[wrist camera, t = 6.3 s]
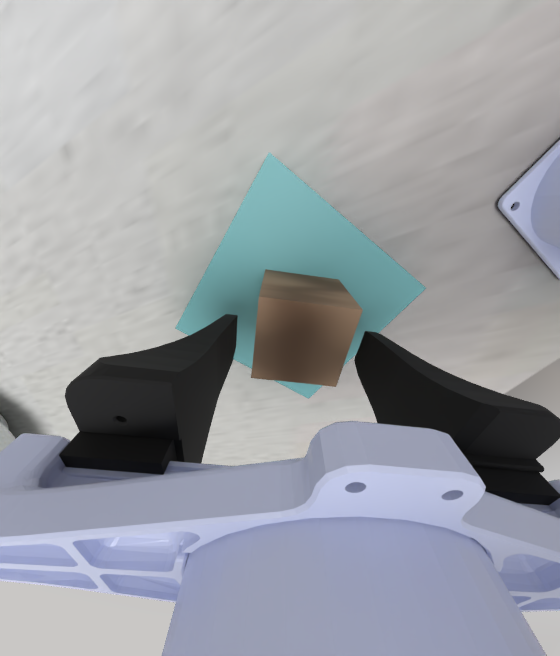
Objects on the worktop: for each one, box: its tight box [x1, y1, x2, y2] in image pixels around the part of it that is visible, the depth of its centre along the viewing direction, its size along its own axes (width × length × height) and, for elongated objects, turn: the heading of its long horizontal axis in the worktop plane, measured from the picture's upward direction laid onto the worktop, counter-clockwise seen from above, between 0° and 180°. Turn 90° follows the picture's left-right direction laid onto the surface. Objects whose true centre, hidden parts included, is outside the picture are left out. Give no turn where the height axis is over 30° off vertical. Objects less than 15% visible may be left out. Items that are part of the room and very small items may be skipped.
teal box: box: [176, 153, 426, 399], centre depth 17 cm, size 13×13×3 cm
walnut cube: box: [251, 269, 363, 387], centre depth 14 cm, size 5×5×5 cm
